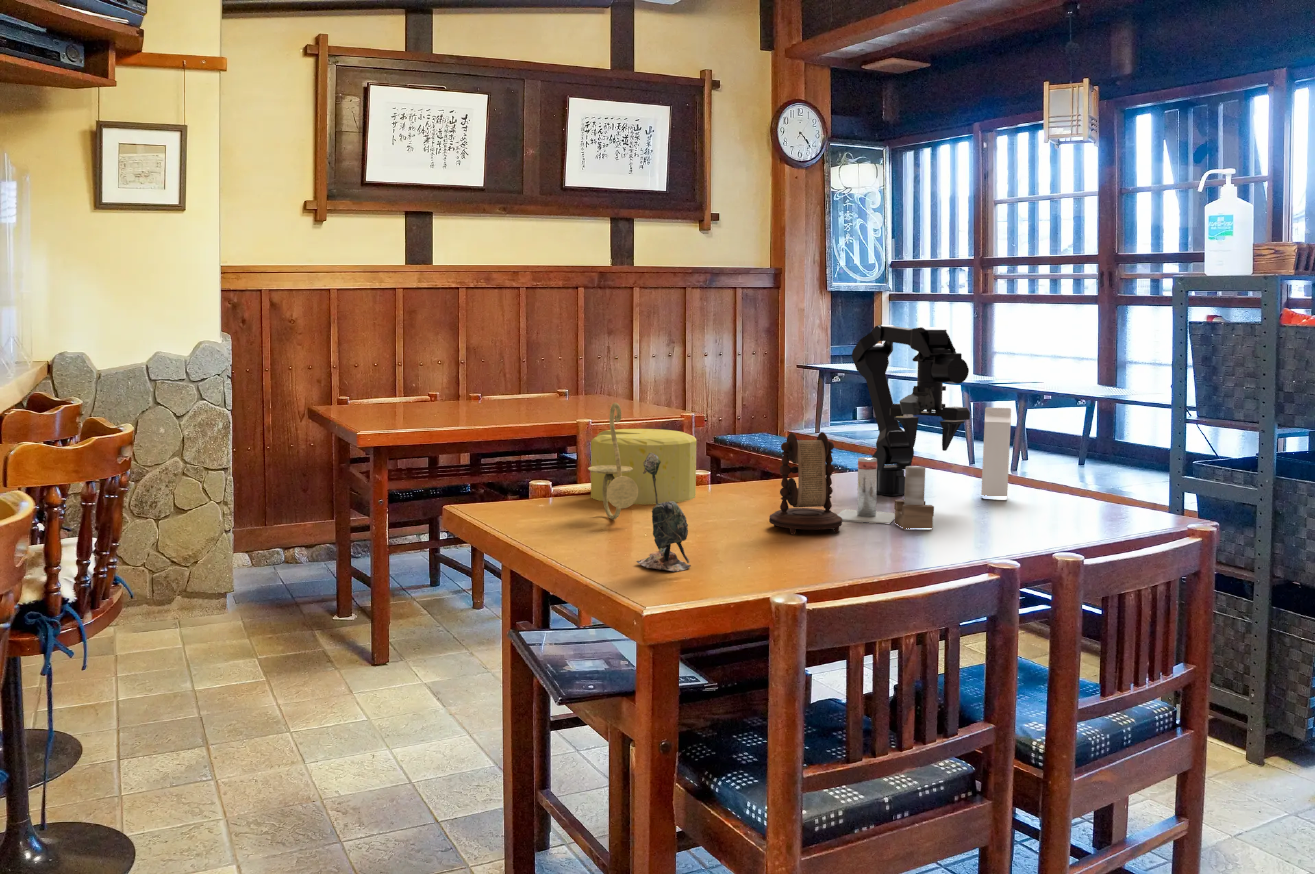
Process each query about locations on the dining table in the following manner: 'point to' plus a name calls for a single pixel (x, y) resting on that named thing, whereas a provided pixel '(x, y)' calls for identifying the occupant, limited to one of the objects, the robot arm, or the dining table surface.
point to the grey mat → (879, 518)
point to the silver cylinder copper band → (867, 487)
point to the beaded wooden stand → (806, 485)
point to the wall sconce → (622, 487)
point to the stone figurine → (665, 528)
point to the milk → (996, 451)
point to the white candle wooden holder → (914, 501)
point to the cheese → (634, 448)
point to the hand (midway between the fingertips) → (927, 448)
